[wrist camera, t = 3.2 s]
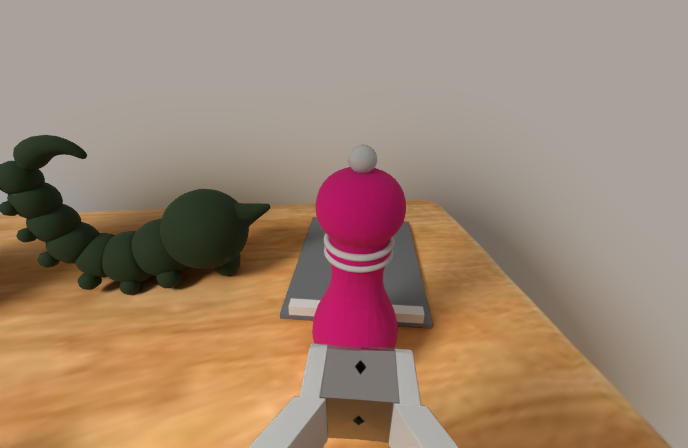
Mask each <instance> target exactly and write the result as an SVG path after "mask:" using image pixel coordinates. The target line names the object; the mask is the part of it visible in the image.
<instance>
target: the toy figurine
mask: <svg viewBox="0 0 688 448" xmlns="http://www.w3.org/2000/svg"><path fill="white" fill-rule="evenodd" d="M62 154H66V155H72V156H75V157H78V158H81V159H85V158H86V157H87V154H86V152H85V151H84V150H83V149H82V148H80V147H79V146H78V145H76V144H75V143H73V142H71V141H69V140H67V139H64V138H61V137H58V136H49V135H42V136H33V137H29V138H27V139H25V140H23V141H21V142H20V143H19V144H18V145H17V146H16V147H15V148H14V152H13V156H14V160H15V161H8V162H5V163H3V164H0V190H1V191H3V192H5V193H7V194H8V197H7V199H8V201H6V202H3V203H2V204H0V212H1V213H2V214H3V215H8V216H15V215H17V214H18V215H20V216H22V217H24V218H27V219H26V225H27V228H24V229H21V230H19V231H18V233H17V238H18V239H19V240H20V241H22V242H30V241H34V240H36V238H37V239H39V240H41V241H44V242H46V248H47V252H44V253H41V254H40V256H39V258H38V260H37V261H38V262H39V264H40V265H41V266H43V267H53V266H55V265H57V264H58V263H59V261H63V262H65V263H75V264H76V266H77V267H78V269H80V270H81V271H82V272H83V273H84V274H83V275H81V276H80V277H79V278H78V284H79V286H80V287H81V288H82V289H87V290H92V289H94V288H96V287H97V286H98V285H99V284H101V282H102V279H101V277H109V278H111V279H112V280H115V281H118V282H121V284H120V290H121V291H122V292H123V293H124V294H127V295H130V294H134V293H137V292H138V291H139V289H140V286H141V282H142V281H144V280H146V279H149V278H150V277H152V276H153V275H155V276H156V278H157V281H158V284H159V285H160V286H161V287H163V288H173V287H175V286H176V285H178V284H179V283H180V282H181V280H182V274H181V271H182V270H184V269H185V268H187V267H191V268H195V269H211V268H215V270H216V271H217V272H218V273H219V274H221V275H225V276H229V275H232V274H234V273H235V272H236V270H237V269H238V268H239V265H240V252H241V251H242V249H243V248H244V246H245V244H246V241H247V237H248V232H249V226H250V225H251V224H252V223H253V222H254V221H256V220H257V219H258V218H259V217H261V216H262V215H263V214H264V213H266V212H267V211H268V210H269V209H270V205H269V204H241V203H238V202H237V201H236V200H235V199H233V198H232V197H230V196H229V195H227V194H224V193H222V192H219V191H216V190H210V189H198V190H194V191H191V192H188V193H185V194H183V195H181V196H180V197H178V198H177V199H175V200H174V201H173V202H172V203H171V204H170V205H169V206H168V207H167V209H166V211H165V212H164V215H163V217H162V219H158V220H153V221H150V222H148V223H146V224H145V225H143V226H142V227H141V228H139V229H138V230H137V231H128V232H123V233H120V234H117V235H113V234H107V233H99V232H98V231H97V230H96V229H95V228H94V227H93V226H91V225H89V224H87V223H84V222H81V218H80V216H79V214H78V213H77V212H76V211H75V210H74V209H73V208H71V207H69V206H67V205H65V204H62V202H63V200H62V197H61V194H60V192H59V191H58V190H57V189H56V188H55V187H53V186H52V185H50V184H48V183H45V178H44V176H43V173H42V172H41V171H40V170H39V168H41V167H43V166H45V165H46V164H47V163H48V162H49V161H50V160H51V159H52V158H53V157H54V156H56V155H62Z"/></svg>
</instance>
